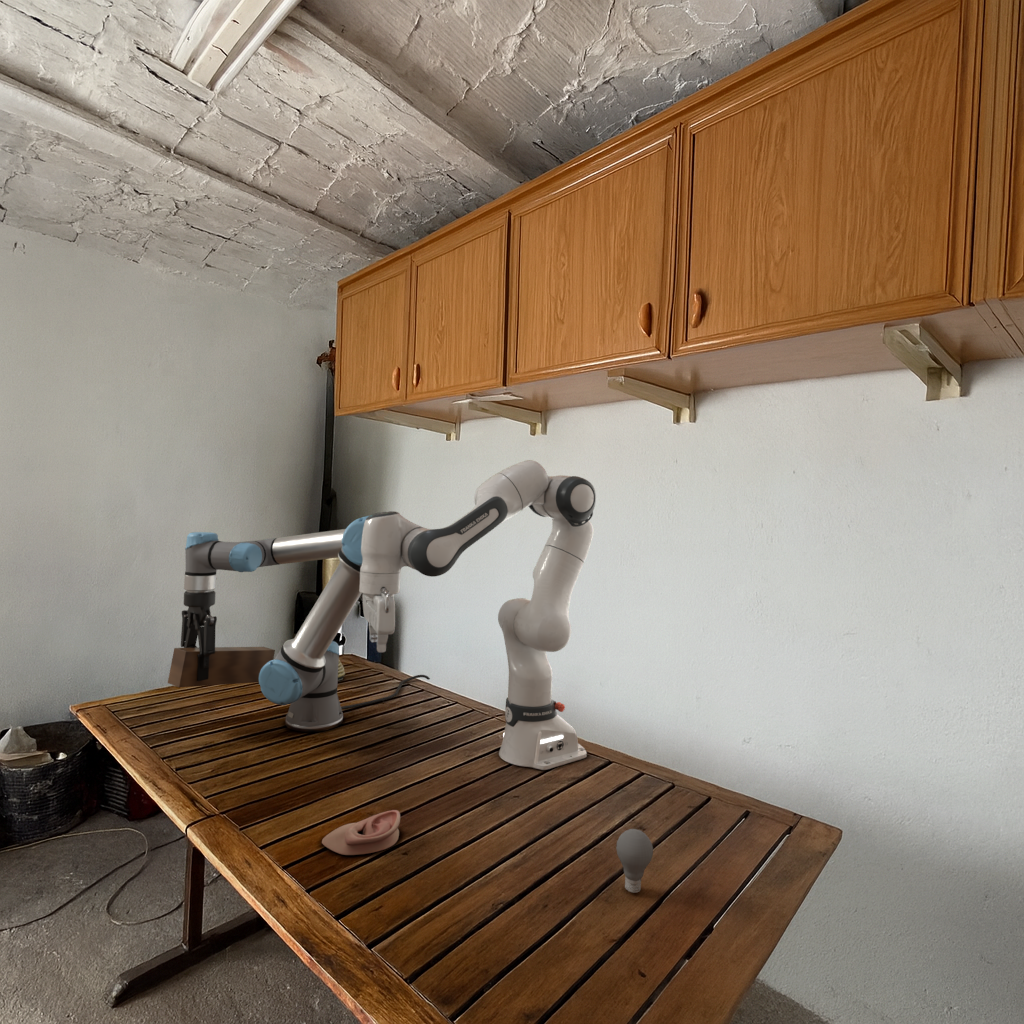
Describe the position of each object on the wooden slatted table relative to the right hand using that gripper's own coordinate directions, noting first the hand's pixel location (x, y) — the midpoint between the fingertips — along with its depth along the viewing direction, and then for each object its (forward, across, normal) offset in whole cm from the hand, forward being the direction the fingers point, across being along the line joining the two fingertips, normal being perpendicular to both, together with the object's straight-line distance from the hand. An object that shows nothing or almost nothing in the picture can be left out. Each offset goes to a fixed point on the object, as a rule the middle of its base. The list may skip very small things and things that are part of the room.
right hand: (377, 646), depth 141 cm
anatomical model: (+31, -23, +6) cm, 39 cm away
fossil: (+31, +82, +6) cm, 87 cm away
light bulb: (+30, -52, -35) cm, 70 cm away
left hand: (+17, +45, +40) cm, 62 cm away
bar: (+20, +49, +34) cm, 63 cm away
